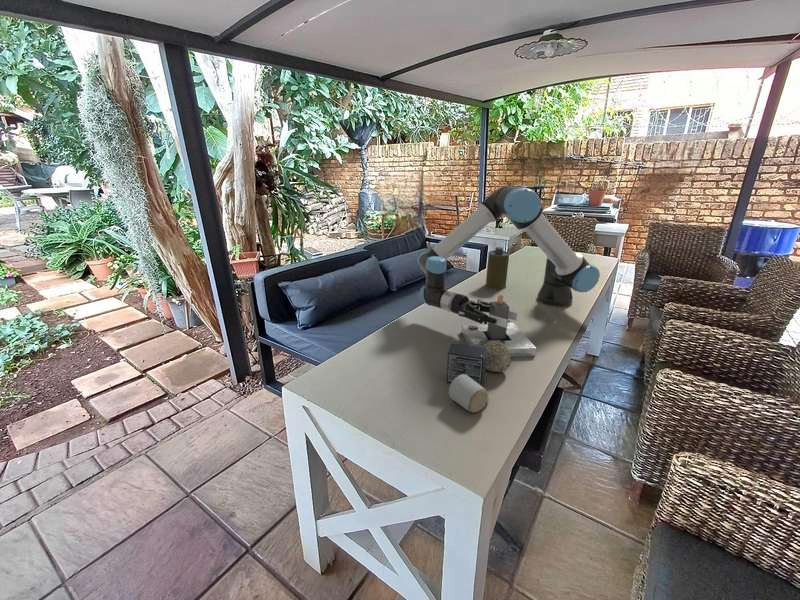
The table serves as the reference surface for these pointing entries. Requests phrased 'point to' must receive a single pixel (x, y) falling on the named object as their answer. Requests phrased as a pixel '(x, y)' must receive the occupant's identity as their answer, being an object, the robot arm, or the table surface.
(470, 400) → the white short cylinder
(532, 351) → the socket
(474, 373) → the small box
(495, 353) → the stone
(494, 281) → the canister
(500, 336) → the plug
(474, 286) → the table surface
